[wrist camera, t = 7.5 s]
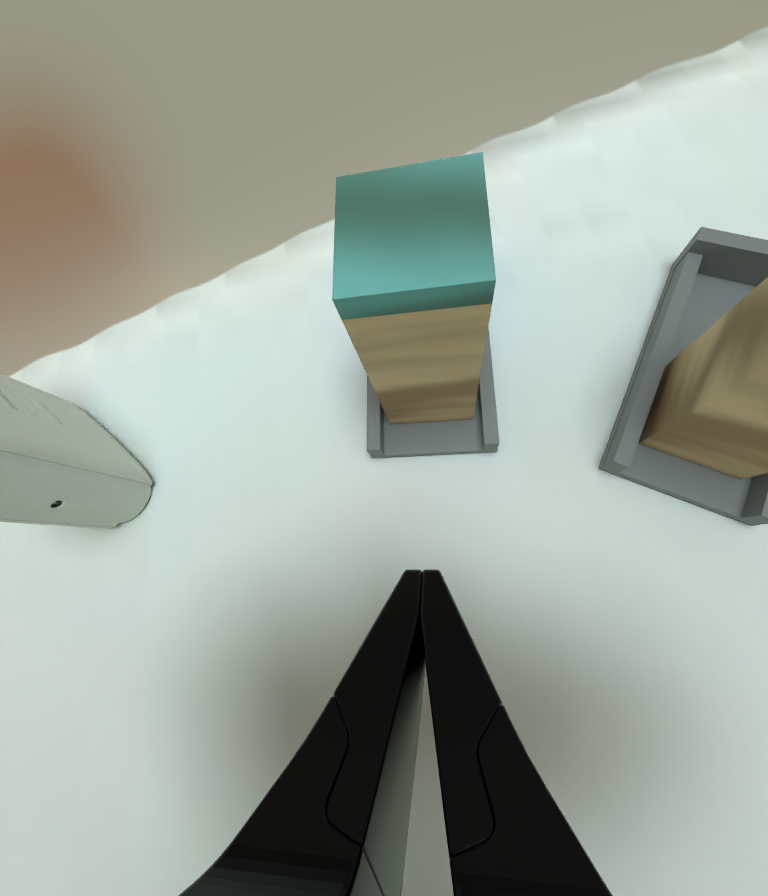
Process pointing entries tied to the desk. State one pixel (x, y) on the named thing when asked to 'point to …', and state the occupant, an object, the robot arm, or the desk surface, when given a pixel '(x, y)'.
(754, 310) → the oak key
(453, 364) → the oak key
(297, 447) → the desk surface
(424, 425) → the slate track
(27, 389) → the photo printer
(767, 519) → the slate track
